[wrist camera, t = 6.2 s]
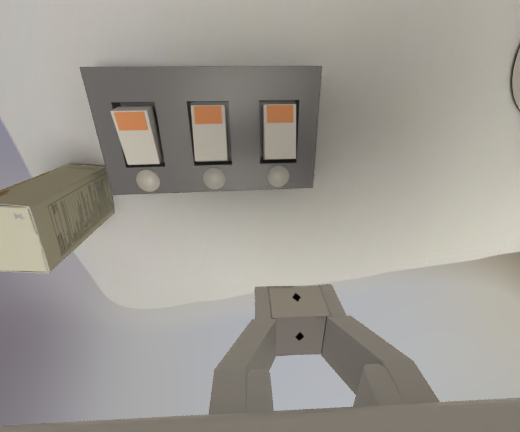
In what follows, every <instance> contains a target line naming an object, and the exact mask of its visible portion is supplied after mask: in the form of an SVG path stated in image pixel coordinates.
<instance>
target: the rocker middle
mask: <svg viewBox="0 0 520 432" xmlns="http://www.w3.org/2000/svg"><path fill="white" fill-rule="evenodd" d="M191 115H192V128H193V141H194V155H195V161H197V162H205V161H228V146H227V127H226V109H225V105H192V106H191Z"/></svg>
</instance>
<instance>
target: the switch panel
mask: <svg viewBox="0 0 520 432" xmlns="http://www.w3.org/2000/svg"><path fill="white" fill-rule="evenodd" d="M80 71H81V74H82V78H83V82H84V86H85V90H86V93H87V97H88V101H89V105H90V109H91V113H92V116H93V120H94V124H95V128H96V132H97V135H98V139H99V143H100V147H101V151H102V155H103V158H104V162H105V166H106V170H107V174H108V177H109V181H110V185H111V189H112V193H113V195H126V194H154V193H181V192H209V191H236V190H263V189H291V188H313V178H314V165H315V152H316V138H317V125H318V111H319V98H320V85H321V71H322V66H194V67H80ZM269 104H296V158H295V159H270V160H263V123H262V108H263V105H269ZM192 105H225V109H226V127H227V146H228V161H205V162H197V161H195V155H194V141H193V128H192V115H191V106H192ZM128 106H152V108H153V112H154V116H155V121H156V125H157V129H158V134H159V138H160V142H161V147H162V151H163V156H164V158H163V160H162V161H161V163H160V164H139V165H128V164H127V161H126V157H125V154H124V151H123V148H122V145H121V142H120V139H119V136H118V133H117V130H116V127H115V124H114V121H113V118H112V115H111V112H110V111H111V110H113V109H115V108H117V107H128Z"/></svg>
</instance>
